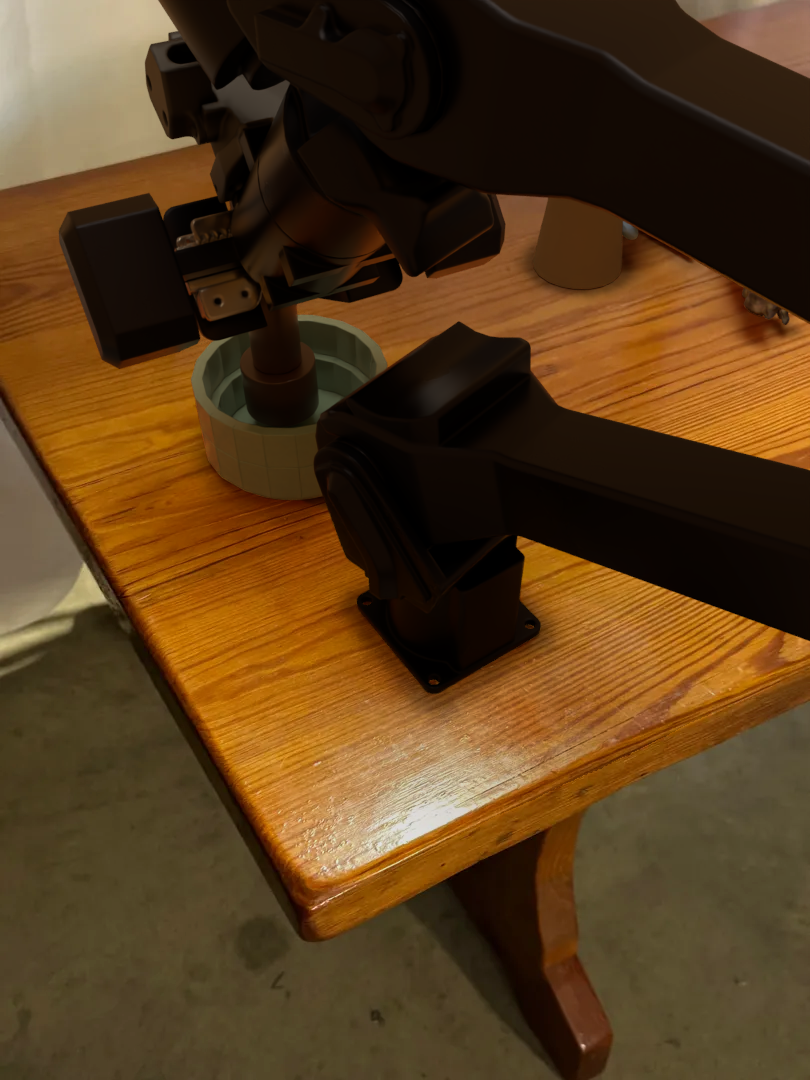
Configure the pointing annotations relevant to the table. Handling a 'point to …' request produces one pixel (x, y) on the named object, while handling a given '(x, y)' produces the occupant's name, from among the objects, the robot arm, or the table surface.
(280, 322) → the muddler
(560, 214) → the pepper shaker
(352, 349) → the bowl
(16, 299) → the table surface
